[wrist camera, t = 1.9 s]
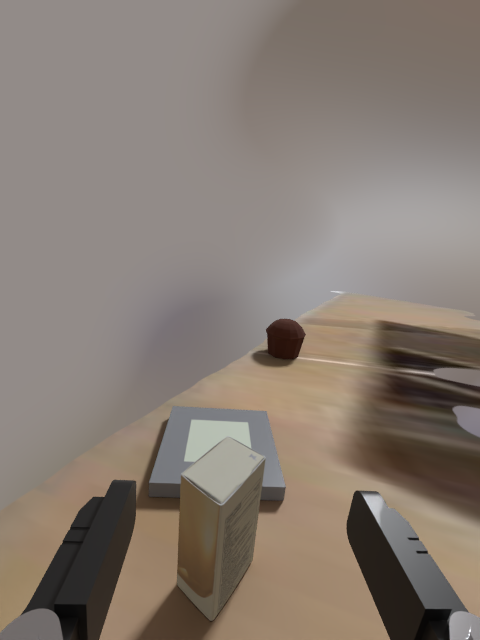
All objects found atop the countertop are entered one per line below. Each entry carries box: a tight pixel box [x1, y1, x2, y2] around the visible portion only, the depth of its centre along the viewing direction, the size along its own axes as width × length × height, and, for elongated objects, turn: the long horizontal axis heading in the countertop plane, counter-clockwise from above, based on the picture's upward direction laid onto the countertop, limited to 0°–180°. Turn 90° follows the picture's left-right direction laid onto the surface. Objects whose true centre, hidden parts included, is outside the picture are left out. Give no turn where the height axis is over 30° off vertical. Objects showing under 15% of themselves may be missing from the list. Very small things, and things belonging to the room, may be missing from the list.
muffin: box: [266, 319, 306, 359], centre depth 82 cm, size 12×11×10 cm
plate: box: [149, 406, 286, 501], centre depth 41 cm, size 16×16×2 cm
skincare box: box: [177, 436, 266, 621], centre depth 25 cm, size 6×4×12 cm
